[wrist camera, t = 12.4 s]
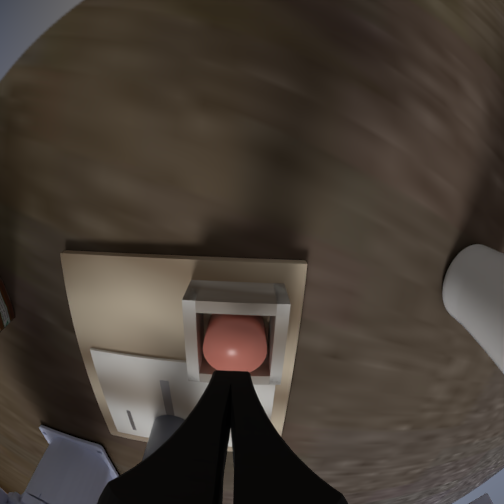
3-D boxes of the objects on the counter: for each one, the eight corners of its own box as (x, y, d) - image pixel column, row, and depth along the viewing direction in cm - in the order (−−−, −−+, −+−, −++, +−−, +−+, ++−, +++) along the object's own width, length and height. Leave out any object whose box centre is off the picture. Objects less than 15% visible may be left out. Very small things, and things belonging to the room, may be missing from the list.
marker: (195, 441, 19) (183, 529, 11) (156, 436, 18) (135, 520, 11) (192, 417, 18) (175, 515, 10) (149, 411, 18) (121, 503, 10)
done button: (262, 352, 16) (264, 375, 14) (208, 350, 15) (204, 372, 14) (266, 304, 15) (269, 324, 13) (206, 302, 15) (201, 321, 13)
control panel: (277, 446, 20) (280, 474, 17) (113, 429, 20) (102, 454, 17) (305, 260, 15) (317, 281, 13) (65, 250, 15) (36, 266, 12)
